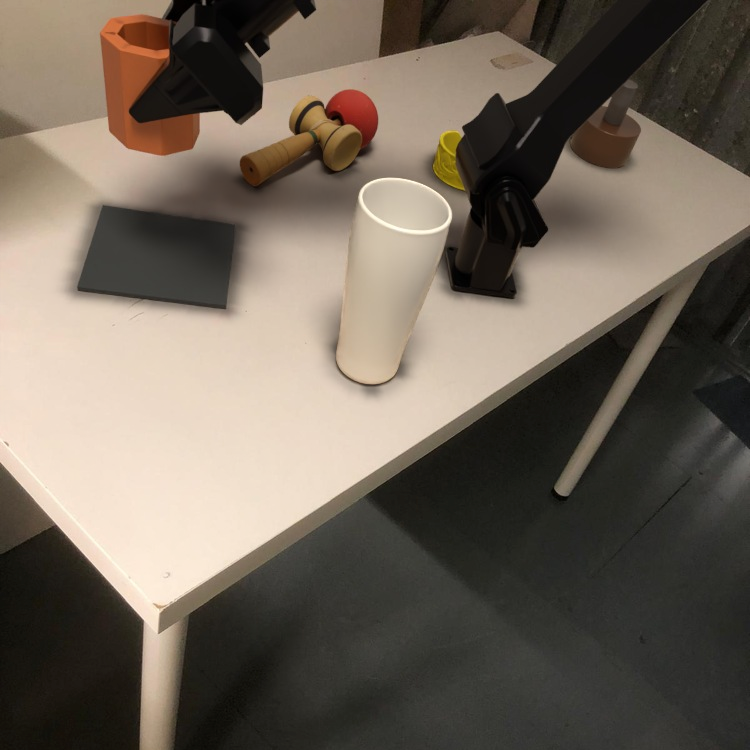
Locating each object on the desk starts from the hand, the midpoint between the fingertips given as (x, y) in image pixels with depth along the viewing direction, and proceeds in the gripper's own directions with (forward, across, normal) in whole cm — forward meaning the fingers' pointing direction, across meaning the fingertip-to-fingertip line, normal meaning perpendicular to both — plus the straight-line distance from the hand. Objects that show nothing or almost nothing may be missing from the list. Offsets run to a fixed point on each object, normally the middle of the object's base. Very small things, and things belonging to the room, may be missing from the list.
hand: (136, 93), depth 56 cm
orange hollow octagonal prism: (+1, 0, +3) cm, 3 cm away
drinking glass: (-3, +14, +23) cm, 27 cm away
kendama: (-2, -18, +21) cm, 28 cm away
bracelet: (-15, -19, +34) cm, 42 cm away
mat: (+8, +1, +11) cm, 14 cm away
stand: (-29, -28, +48) cm, 63 cm away
